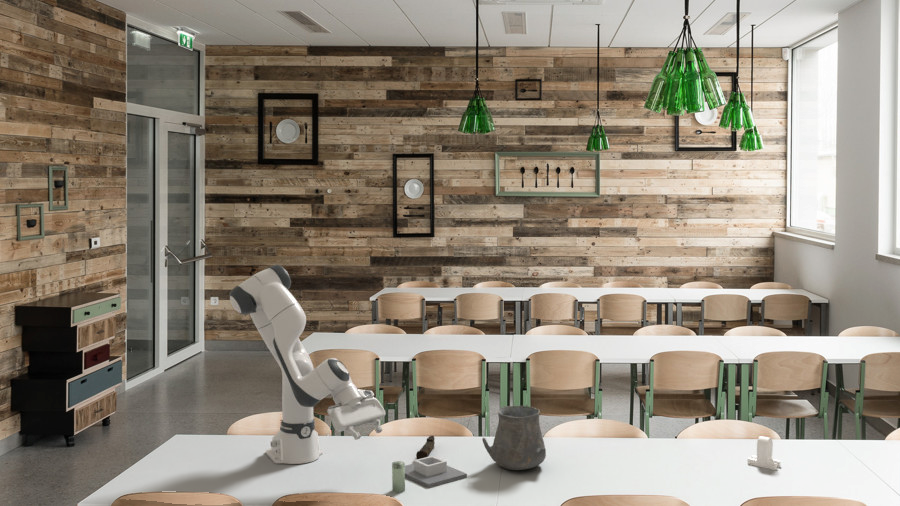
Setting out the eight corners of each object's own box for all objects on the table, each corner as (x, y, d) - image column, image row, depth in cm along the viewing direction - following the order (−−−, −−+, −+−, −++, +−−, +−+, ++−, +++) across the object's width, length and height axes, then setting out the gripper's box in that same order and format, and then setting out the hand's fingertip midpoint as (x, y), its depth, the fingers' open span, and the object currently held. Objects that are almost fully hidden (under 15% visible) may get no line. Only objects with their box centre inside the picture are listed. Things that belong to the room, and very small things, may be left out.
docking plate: (394, 471, 281) (394, 458, 280) (431, 462, 290) (431, 449, 290) (428, 487, 265) (428, 473, 264) (466, 477, 274) (466, 463, 274)
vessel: (558, 460, 292) (558, 405, 290) (538, 479, 272) (538, 420, 270) (501, 452, 301) (501, 399, 300) (478, 471, 281) (478, 413, 279)
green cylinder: (390, 490, 263) (389, 462, 262) (400, 487, 265) (400, 460, 265) (396, 493, 260) (396, 466, 259) (407, 490, 262) (407, 463, 261)
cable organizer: (775, 470, 280) (775, 441, 279) (746, 463, 286) (747, 435, 286) (780, 466, 284) (781, 438, 283) (752, 460, 290) (753, 432, 290)
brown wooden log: (426, 462, 292) (426, 449, 291) (416, 461, 292) (416, 448, 292) (440, 446, 310) (440, 434, 310) (430, 445, 311) (430, 433, 311)
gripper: (329, 401, 265) (349, 436, 259) (376, 390, 280) (396, 423, 274) (320, 412, 269) (340, 447, 263) (367, 400, 284) (387, 433, 278)
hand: (369, 435), depth 269 cm, fingers open, 8 cm apart
